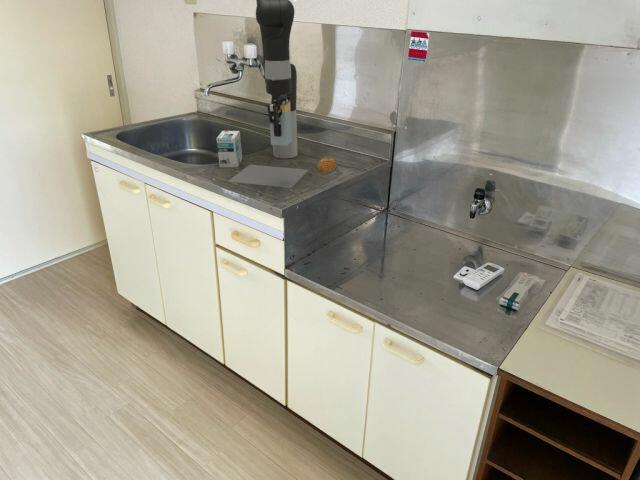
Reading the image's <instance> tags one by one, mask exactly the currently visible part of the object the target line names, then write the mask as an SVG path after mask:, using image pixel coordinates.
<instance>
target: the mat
mask: <svg viewBox="0 0 640 480" xmlns="http://www.w3.org/2000/svg"><path fill="white" fill-rule="evenodd" d="M308 171H309V169H303V168H293V167H280V166H270V165H260V164H249V165H247V166H246V167H245V168H243V170H240V171H239V172H238V173H237V174H236V175H234V176H233V177H232V178H230V179H229V180H227V182H231V183H237V184H248V185H255V186H256V185H259V186H265V187H266V186H268V187H276V188H277V187H278V188H286V189H292V188H293V187H294V186H295V185H296V184H297V183H298V181H300V180H301V179H302V177H303V176H304V175H305V174H307V172H308Z"/></svg>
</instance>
